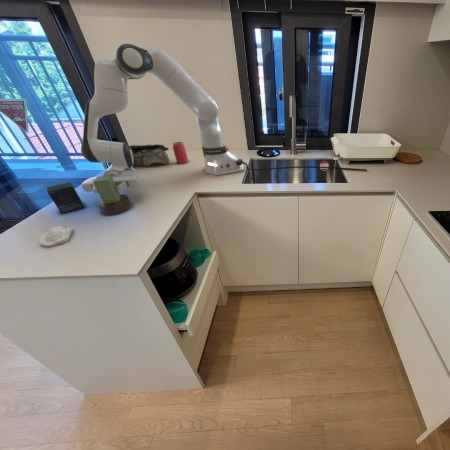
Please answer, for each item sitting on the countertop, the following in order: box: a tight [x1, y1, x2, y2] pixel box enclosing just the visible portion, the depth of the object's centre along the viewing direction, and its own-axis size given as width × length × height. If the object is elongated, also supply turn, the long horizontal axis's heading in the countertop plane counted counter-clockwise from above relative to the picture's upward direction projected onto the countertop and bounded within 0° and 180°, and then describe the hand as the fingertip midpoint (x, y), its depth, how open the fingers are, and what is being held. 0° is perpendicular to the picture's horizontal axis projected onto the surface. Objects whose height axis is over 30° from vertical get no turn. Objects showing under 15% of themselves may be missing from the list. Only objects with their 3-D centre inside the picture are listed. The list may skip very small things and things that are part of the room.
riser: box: [97, 194, 133, 216], centre depth 103 cm, size 11×11×4 cm
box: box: [46, 181, 85, 214], centre depth 101 cm, size 8×6×11 cm
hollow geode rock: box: [128, 144, 170, 166], centre depth 145 cm, size 28×13×15 cm
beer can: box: [172, 141, 189, 165], centre depth 150 cm, size 7×7×12 cm
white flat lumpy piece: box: [38, 225, 74, 248], centre depth 85 cm, size 10×4×10 cm
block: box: [93, 175, 121, 204], centre depth 99 cm, size 5×5×10 cm
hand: (107, 190), depth 98 cm, fingers open, 7 cm apart
